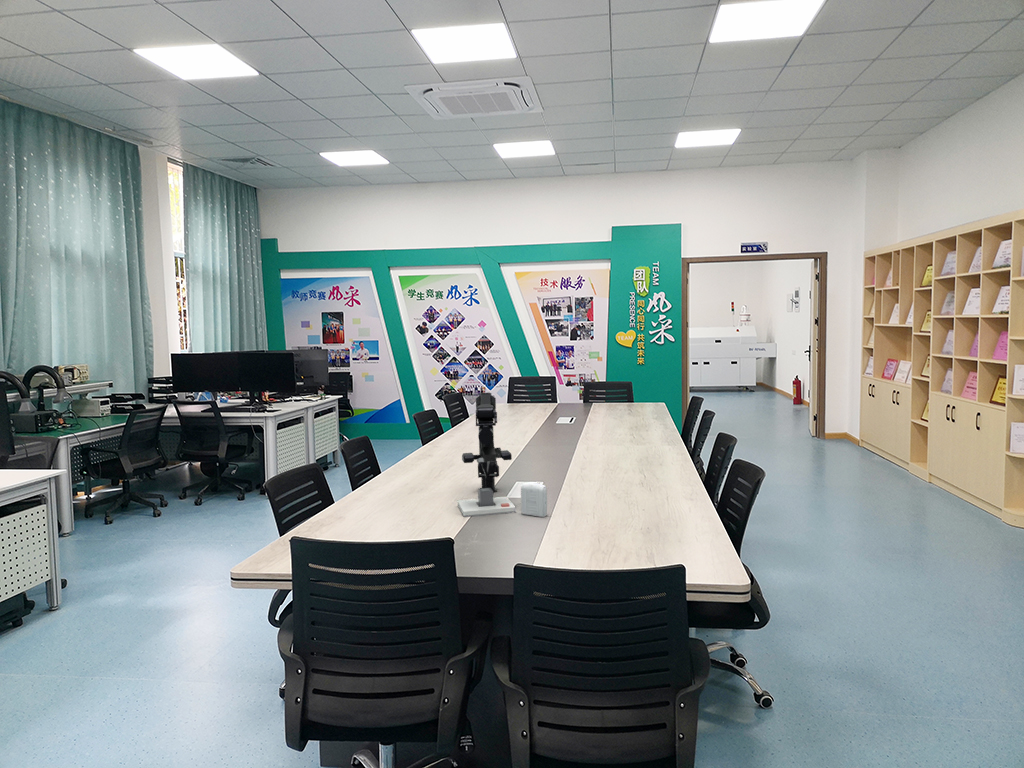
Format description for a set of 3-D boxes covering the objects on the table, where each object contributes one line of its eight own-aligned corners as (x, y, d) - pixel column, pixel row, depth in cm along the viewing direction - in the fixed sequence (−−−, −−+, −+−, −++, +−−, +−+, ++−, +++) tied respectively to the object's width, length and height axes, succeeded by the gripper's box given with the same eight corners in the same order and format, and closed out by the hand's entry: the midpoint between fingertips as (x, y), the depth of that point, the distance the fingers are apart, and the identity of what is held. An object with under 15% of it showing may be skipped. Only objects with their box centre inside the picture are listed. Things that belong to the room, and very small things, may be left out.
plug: (478, 506, 262) (478, 488, 262) (491, 505, 264) (490, 487, 263) (480, 509, 258) (480, 491, 257) (493, 508, 259) (493, 490, 258)
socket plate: (457, 505, 266) (457, 498, 266) (506, 501, 271) (506, 494, 270) (463, 516, 251) (463, 509, 250) (515, 512, 255) (515, 505, 255)
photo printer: (549, 514, 251) (548, 482, 250) (543, 518, 247) (543, 485, 246) (524, 511, 256) (524, 479, 255) (519, 514, 252) (518, 482, 251)
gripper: (465, 444, 250) (466, 485, 252) (514, 441, 254) (515, 481, 256) (461, 438, 261) (462, 478, 262) (508, 435, 265) (509, 474, 266)
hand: (487, 478), depth 261 cm, fingers closed
